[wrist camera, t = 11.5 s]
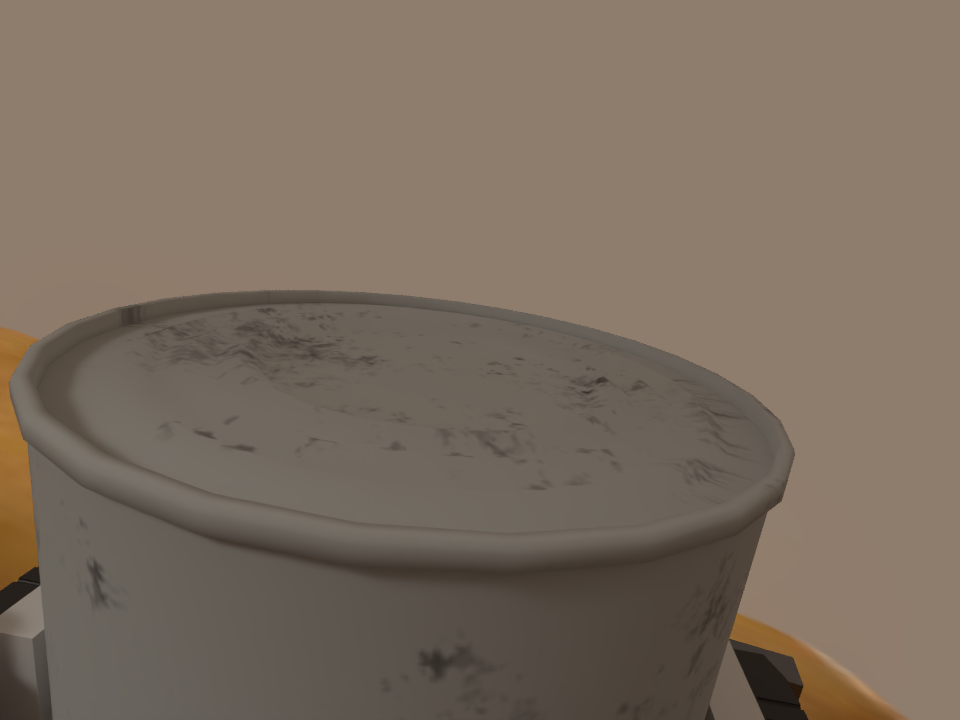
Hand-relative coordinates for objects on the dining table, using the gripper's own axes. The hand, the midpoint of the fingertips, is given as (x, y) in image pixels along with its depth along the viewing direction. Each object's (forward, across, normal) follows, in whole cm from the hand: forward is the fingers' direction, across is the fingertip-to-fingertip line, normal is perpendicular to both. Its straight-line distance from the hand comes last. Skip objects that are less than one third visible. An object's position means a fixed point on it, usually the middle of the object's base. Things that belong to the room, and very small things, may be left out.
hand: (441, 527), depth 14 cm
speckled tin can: (-4, 0, -7) cm, 8 cm away
